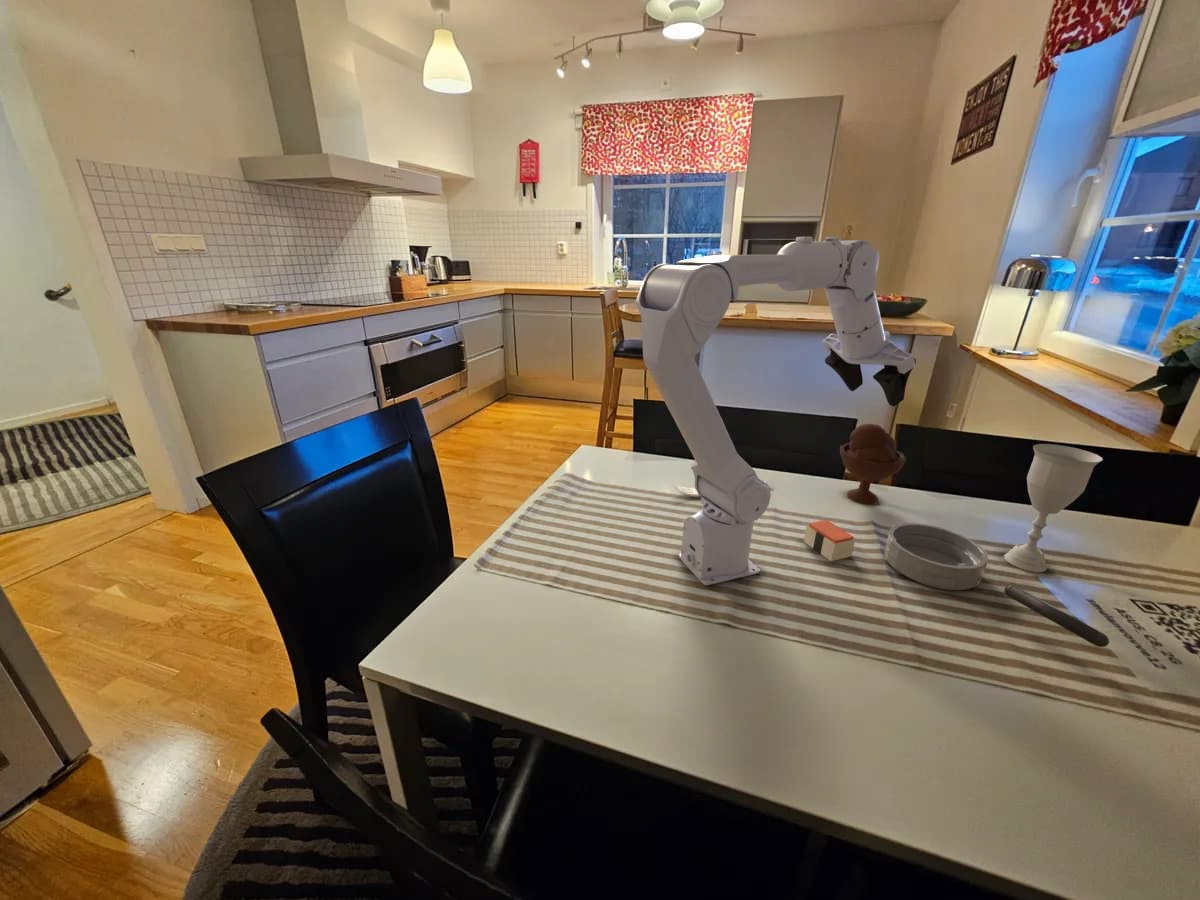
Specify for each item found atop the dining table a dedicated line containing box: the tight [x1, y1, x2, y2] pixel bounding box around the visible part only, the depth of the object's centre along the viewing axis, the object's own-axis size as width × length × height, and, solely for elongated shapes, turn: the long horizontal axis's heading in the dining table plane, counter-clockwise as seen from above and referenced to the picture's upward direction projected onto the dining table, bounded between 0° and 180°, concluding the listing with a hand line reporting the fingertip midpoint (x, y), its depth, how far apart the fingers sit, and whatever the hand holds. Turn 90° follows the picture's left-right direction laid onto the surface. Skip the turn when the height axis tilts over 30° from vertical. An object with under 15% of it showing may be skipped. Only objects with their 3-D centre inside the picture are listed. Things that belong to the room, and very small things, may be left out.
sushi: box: [803, 519, 856, 562], centre depth 77 cm, size 4×6×4 cm
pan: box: [883, 522, 989, 591], centre depth 73 cm, size 12×12×4 cm
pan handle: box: [1004, 584, 1110, 648], centre depth 59 cm, size 2×11×2 cm, turn 20°
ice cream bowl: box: [839, 423, 907, 505], centre depth 92 cm, size 11×11×15 cm
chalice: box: [1003, 443, 1103, 573], centre depth 71 cm, size 7×7×18 cm
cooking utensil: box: [671, 480, 768, 497], centre depth 97 cm, size 3×20×2 cm, turn 103°
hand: (875, 394), depth 76 cm, fingers open, 7 cm apart
